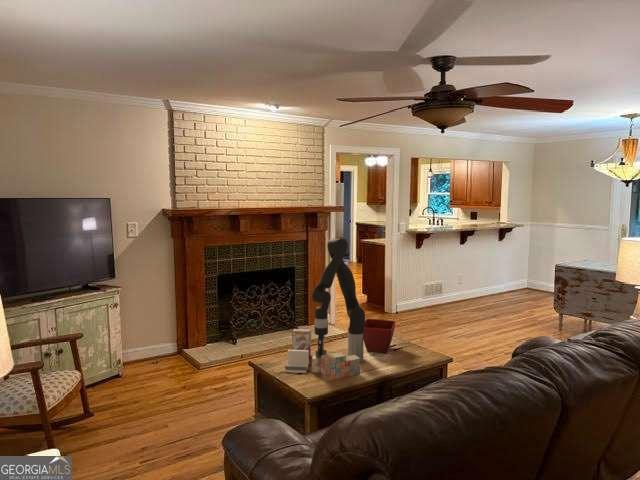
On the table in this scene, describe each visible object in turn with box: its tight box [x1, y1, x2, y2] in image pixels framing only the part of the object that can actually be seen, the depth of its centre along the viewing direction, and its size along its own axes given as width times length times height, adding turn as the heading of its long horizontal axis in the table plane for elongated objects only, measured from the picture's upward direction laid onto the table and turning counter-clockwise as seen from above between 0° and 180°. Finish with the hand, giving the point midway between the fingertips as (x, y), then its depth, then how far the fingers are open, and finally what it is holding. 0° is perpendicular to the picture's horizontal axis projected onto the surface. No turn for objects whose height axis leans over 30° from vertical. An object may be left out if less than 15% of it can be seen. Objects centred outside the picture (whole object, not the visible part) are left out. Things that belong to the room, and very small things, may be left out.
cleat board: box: [284, 349, 310, 374], centre depth 265 cm, size 12×12×9 cm
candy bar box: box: [291, 328, 312, 358], centre depth 283 cm, size 11×5×16 cm, turn 84°
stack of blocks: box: [320, 351, 361, 382], centre depth 255 cm, size 21×6×12 cm, turn 114°
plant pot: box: [363, 318, 396, 354], centre depth 295 cm, size 19×19×17 cm
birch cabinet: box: [311, 349, 328, 374], centre depth 261 cm, size 10×5×12 cm, turn 84°
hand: (321, 354), depth 261 cm, fingers open, 6 cm apart
